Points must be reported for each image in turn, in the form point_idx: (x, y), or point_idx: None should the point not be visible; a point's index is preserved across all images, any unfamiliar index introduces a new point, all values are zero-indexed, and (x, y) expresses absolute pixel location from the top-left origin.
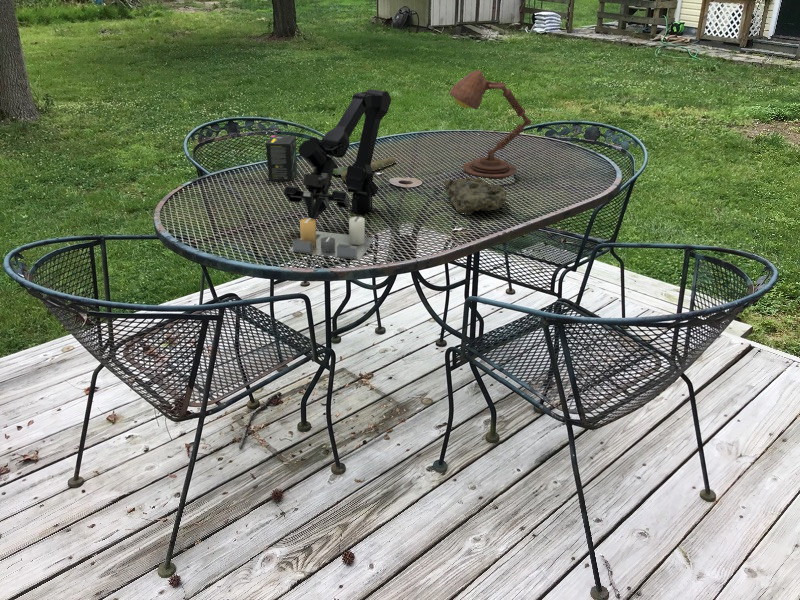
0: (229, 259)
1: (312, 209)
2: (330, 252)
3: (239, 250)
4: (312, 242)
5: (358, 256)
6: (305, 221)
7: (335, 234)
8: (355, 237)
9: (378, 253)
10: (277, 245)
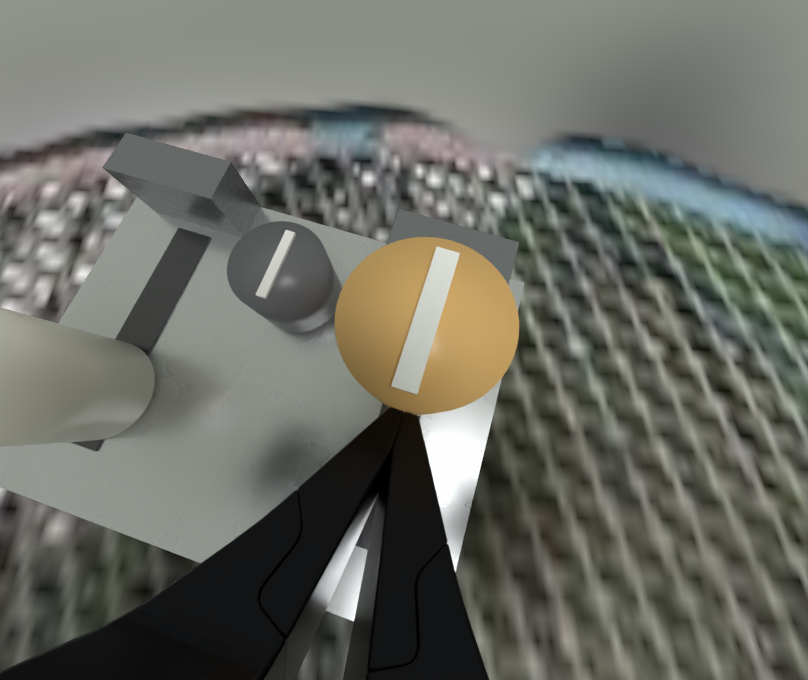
0: (792, 247)
1: (361, 625)
2: None
3: (792, 352)
4: None
5: (149, 207)
6: (451, 274)
7: None
8: (75, 328)
9: (39, 298)
10: (601, 419)
